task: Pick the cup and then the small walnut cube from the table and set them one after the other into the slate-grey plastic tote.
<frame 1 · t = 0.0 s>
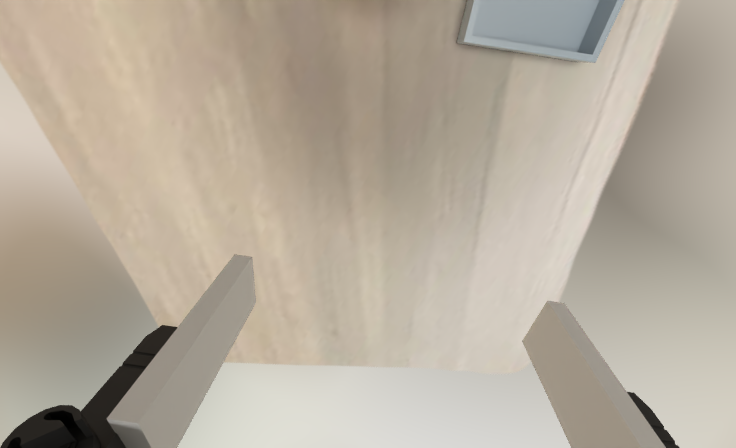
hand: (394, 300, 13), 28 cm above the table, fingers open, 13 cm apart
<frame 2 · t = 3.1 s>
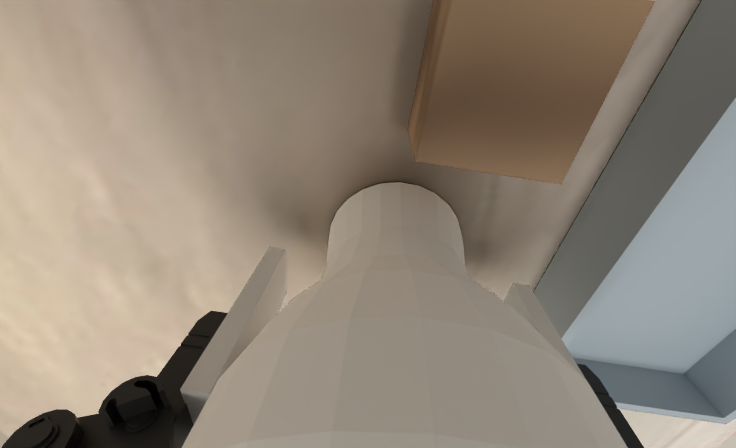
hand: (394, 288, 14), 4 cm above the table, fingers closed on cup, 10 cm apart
tote: (691, 240, 16), on the table
cup: (393, 240, 17), on the table, touching gripper
walnut cube: (474, 80, 13), on the table
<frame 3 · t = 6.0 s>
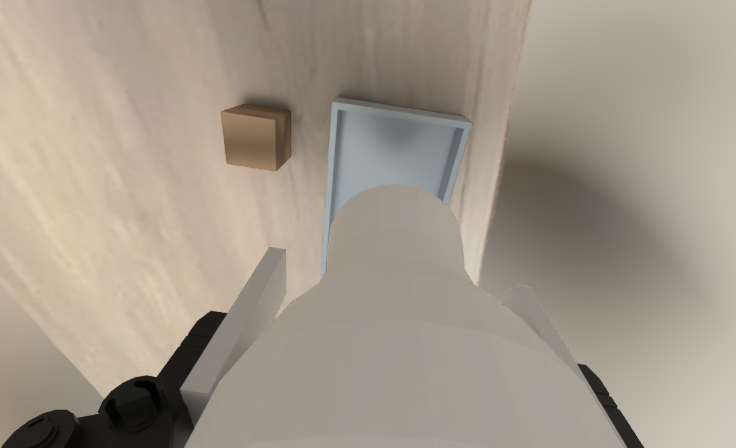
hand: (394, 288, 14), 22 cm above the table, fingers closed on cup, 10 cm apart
tote: (384, 198, 35), on the table
cup: (393, 241, 18), point 17 cm above the table, touching gripper
walnut cube: (268, 131, 32), on the table
when the fingers open (6 cm above the table, at t = 9.4 s): cup drops 1 cm, resting on tote.
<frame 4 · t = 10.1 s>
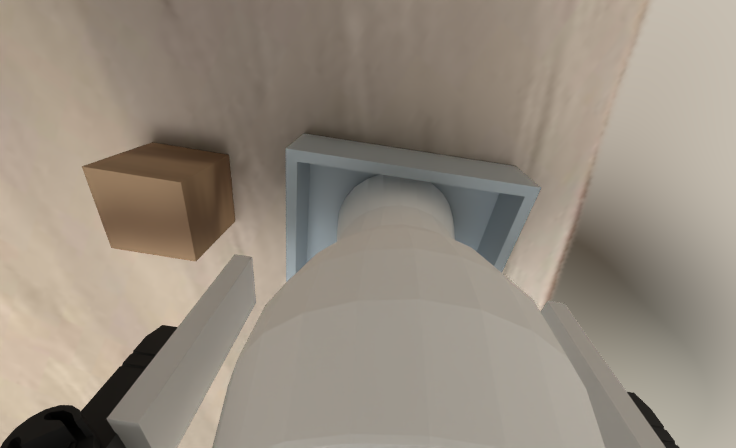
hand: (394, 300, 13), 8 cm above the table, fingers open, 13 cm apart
tote: (382, 281, 23), on the table
cup: (394, 224, 20), resting on tote
walnut cube: (197, 183, 20), on the table
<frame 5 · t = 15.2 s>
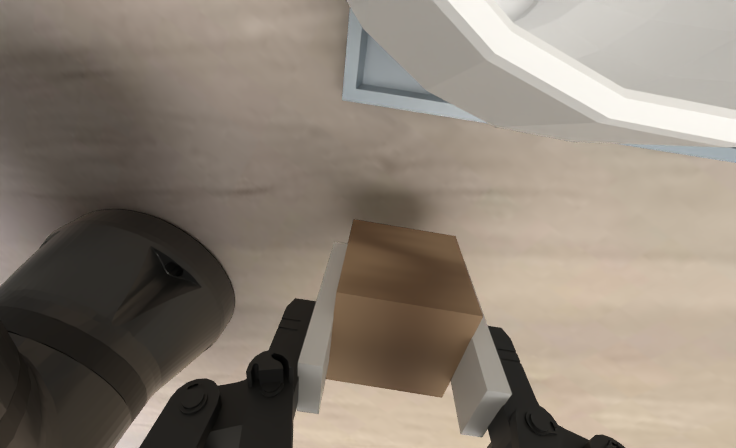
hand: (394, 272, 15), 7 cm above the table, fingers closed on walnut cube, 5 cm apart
walnut cube: (394, 267, 15), point 6 cm above the table, touching gripper
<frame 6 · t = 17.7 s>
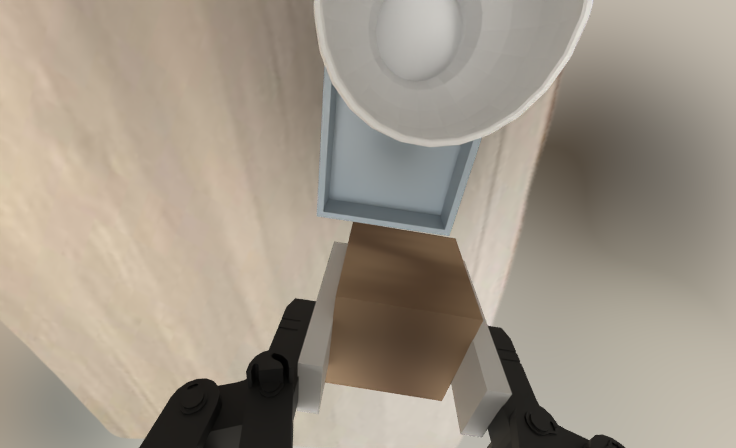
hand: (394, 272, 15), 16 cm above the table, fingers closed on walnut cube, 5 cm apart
tote: (402, 106, 26), on the table
cup: (415, 35, 23), resting on tote
walnut cube: (394, 269, 15), point 16 cm above the table, touching gripper
when the fingers open (3 cm above the table, at t = 20.2 s): walnut cube drops 2 cm, resting on tote.
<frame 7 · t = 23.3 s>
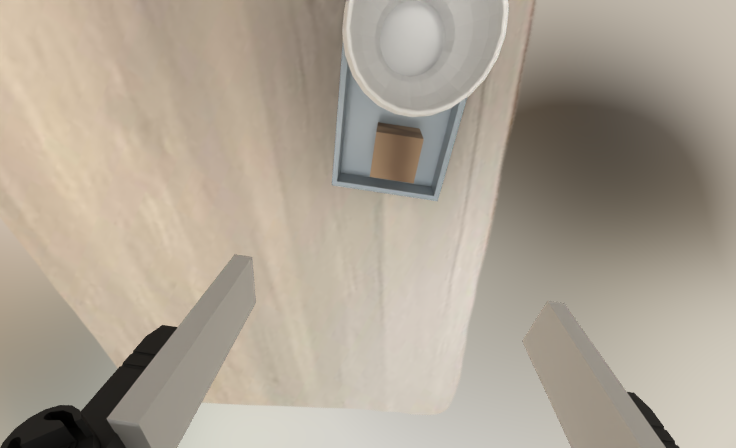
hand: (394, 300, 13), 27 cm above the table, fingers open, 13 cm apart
tote: (400, 97, 33), on the table
cup: (409, 41, 30), resting on tote
walnut cube: (395, 146, 36), point 1 cm above the table, touching tote
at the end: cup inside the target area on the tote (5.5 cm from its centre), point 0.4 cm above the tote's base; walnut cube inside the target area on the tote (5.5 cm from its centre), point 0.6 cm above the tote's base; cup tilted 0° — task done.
